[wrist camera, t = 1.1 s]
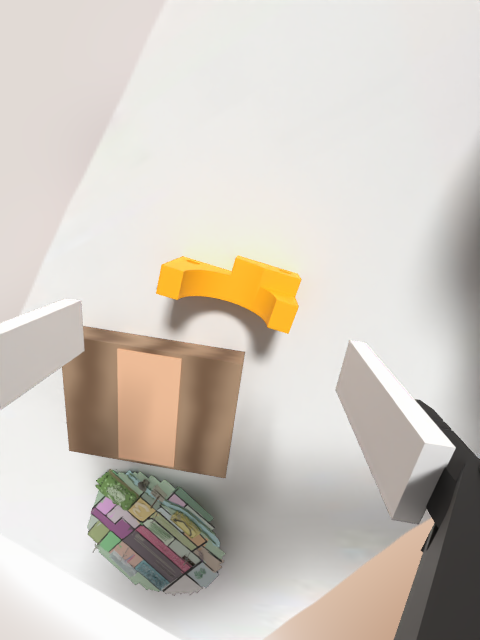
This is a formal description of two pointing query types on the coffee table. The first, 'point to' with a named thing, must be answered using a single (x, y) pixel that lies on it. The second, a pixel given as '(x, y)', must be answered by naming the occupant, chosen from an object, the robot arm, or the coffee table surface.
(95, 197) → the coffee table surface
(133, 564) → the city model
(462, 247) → the coffee table surface
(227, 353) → the board
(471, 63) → the coffee table surface
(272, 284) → the pipe clamp
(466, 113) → the coffee table surface
